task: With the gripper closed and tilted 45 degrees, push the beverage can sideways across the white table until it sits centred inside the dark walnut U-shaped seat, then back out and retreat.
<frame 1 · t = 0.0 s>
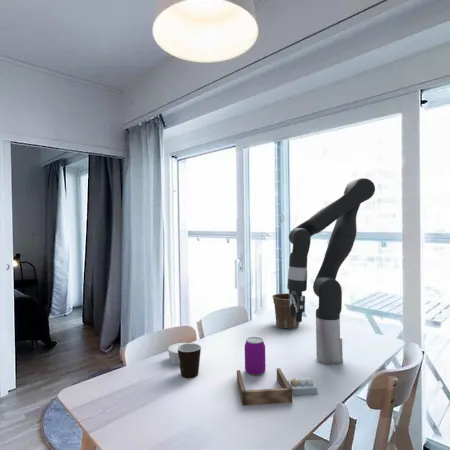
hand: (295, 318, 129), 17 cm above the table, tool pointing down, fingers open, 8 cm apart
coffee mug: (190, 373, 121), on the table
beverage can: (255, 372, 121), on the table
walnut U-seat: (262, 390, 107), on the table
plant pot: (287, 326, 176), on the table
ramekin: (181, 360, 133), on the table
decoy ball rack: (301, 389, 107), on the table
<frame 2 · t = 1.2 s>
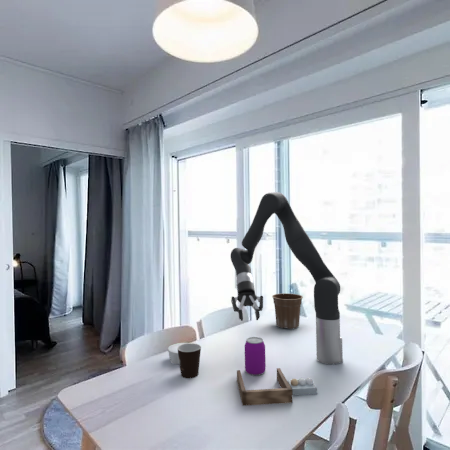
hand: (249, 319, 132), 16 cm above the table, tool tilted 45°, fingers open, 5 cm apart
nothing on the table moved.
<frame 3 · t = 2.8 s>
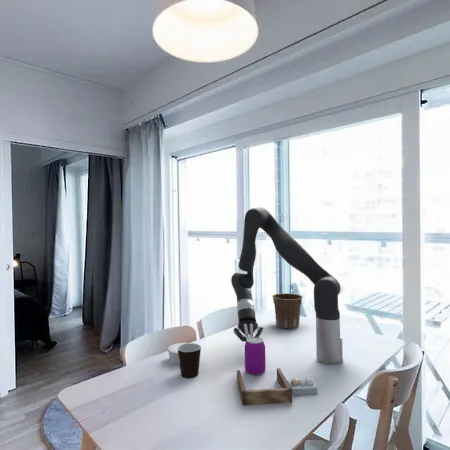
hand: (250, 350, 130), 5 cm above the table, tool tilted 45°, fingers closed
nothing on the table moved.
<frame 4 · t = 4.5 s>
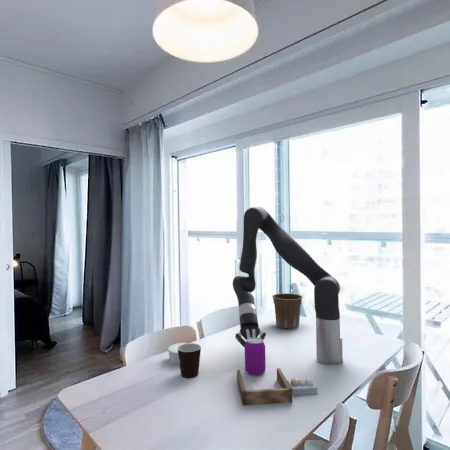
hand: (253, 357, 125), 4 cm above the table, tool tilted 45°, fingers closed
beverage can: (255, 372, 121), on the table, touching gripper
everything else where it was.
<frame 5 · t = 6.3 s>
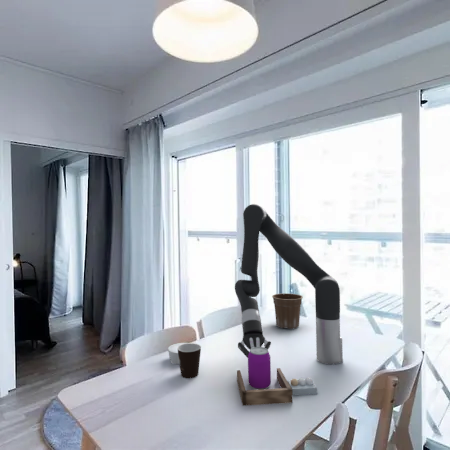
hand: (257, 368, 115), 4 cm above the table, tool tilted 45°, fingers closed
beverage can: (259, 385, 111), on the table, touching gripper
everything else where it was.
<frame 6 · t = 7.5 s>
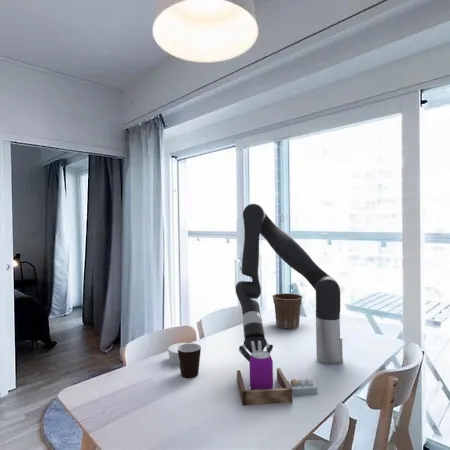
hand: (259, 372, 112), 4 cm above the table, tool tilted 45°, fingers closed
beverage can: (261, 390, 108), on the table, touching gripper
everything else where it was.
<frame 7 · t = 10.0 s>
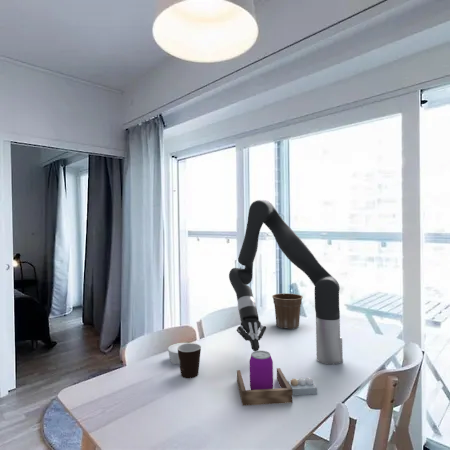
hand: (256, 350, 125), 6 cm above the table, tool tilted 40°, fingers closed
beverage can: (261, 391, 108), on the table
everything else where it was.
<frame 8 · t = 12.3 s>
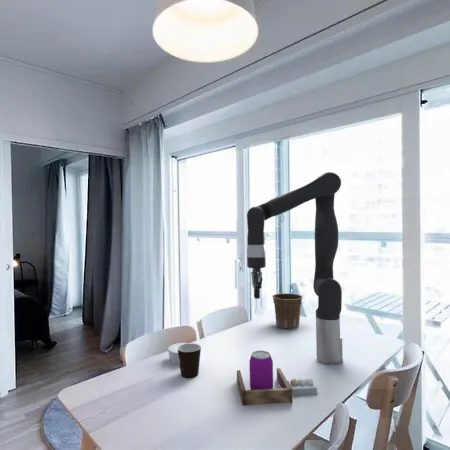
hand: (256, 298, 133), 25 cm above the table, tool pointing down, fingers closed
nothing on the table moved.
at the end: beverage can inside the target area (0.4 cm from its centre), on the table; beverage can tilted 0°; beverage can moved 13.7 cm from its start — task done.
